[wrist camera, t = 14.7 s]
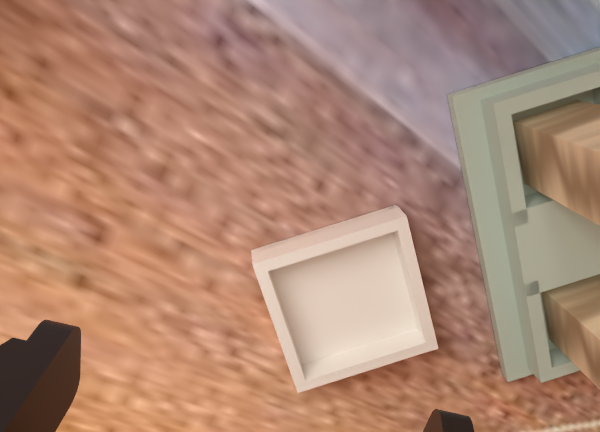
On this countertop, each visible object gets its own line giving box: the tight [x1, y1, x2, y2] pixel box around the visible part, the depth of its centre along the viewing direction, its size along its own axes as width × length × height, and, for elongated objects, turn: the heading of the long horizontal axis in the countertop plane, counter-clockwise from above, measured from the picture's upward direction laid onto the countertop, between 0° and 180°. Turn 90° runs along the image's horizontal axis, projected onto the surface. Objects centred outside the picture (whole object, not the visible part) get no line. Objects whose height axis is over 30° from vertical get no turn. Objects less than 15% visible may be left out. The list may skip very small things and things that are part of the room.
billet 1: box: [513, 100, 600, 226], centre depth 34 cm, size 4×5×10 cm
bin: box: [251, 205, 438, 393], centre depth 40 cm, size 11×11×2 cm
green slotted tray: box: [447, 47, 600, 383], centre depth 40 cm, size 23×12×3 cm, turn 16°
